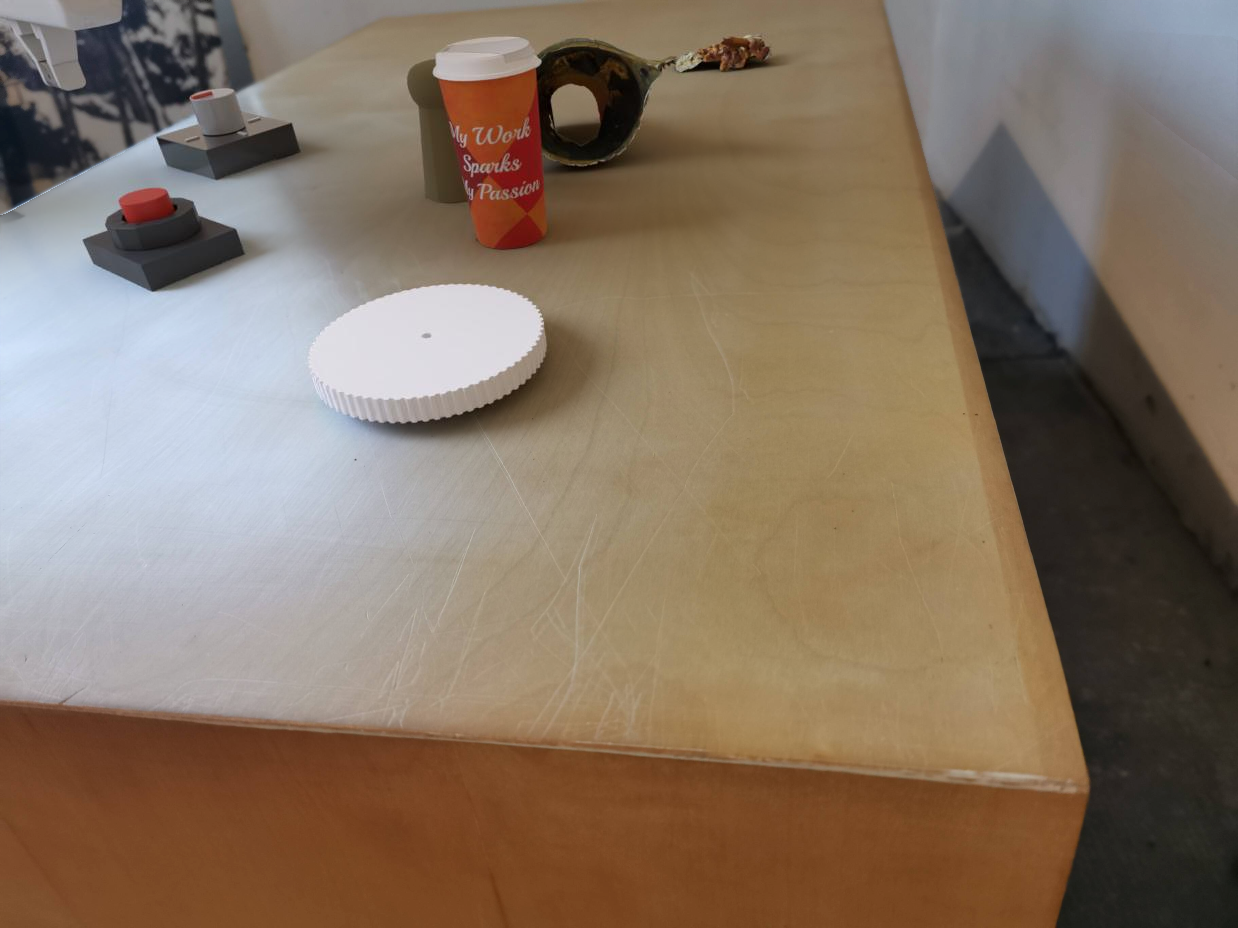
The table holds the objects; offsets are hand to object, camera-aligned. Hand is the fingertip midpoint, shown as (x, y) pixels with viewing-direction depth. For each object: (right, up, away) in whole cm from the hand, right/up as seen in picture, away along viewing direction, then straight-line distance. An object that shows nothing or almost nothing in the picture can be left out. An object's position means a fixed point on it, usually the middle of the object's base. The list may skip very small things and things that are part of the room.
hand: (67, 87), depth 63 cm
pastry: (+53, +23, +46) cm, 74 cm away
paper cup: (+32, -9, +7) cm, 34 cm away
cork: (+25, -2, +16) cm, 30 cm away
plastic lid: (+29, -22, -9) cm, 37 cm away
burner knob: (-1, +8, +28) cm, 29 cm away
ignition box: (+3, -11, +8) cm, 14 cm away
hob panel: (-1, +5, +29) cm, 30 cm away
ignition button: (+3, -8, +6) cm, 10 cm away
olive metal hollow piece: (+37, +3, +23) cm, 44 cm away
